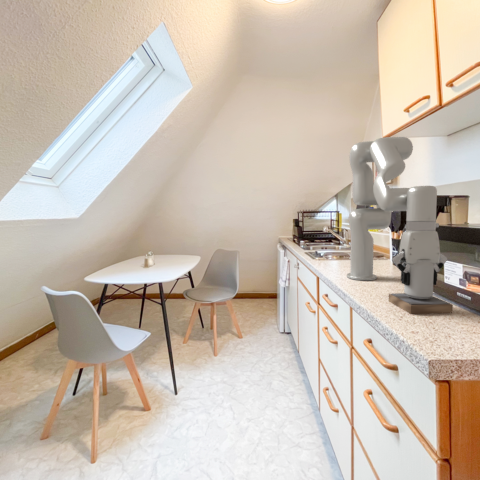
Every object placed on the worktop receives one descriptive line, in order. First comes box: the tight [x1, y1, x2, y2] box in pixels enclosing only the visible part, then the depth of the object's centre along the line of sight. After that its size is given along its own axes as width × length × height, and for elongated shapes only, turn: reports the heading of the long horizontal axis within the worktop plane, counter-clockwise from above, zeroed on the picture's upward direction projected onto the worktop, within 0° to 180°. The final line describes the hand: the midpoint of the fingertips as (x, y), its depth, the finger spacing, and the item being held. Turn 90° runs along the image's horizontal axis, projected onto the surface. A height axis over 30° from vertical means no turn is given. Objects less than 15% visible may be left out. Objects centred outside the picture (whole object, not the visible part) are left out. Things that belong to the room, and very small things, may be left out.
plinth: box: [388, 292, 454, 315], centre depth 86 cm, size 12×12×3 cm
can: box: [403, 260, 434, 299], centre depth 85 cm, size 8×8×12 cm
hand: (418, 283), depth 85 cm, fingers closed on can, 7 cm apart
